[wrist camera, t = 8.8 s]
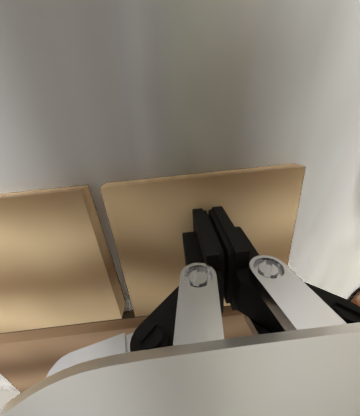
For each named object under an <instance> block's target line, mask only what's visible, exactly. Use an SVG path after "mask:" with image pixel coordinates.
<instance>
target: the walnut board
mask: <svg viewBox="0 0 360 416" xmlns="http://www.w3.org/2000/svg"><path fill="white" fill-rule="evenodd" d="M148 316H149V315H147V316H139V317H135V314H134V311H130V312H123V316H122V319H114V320H106V321H98V322H89V323H81V324H73V325H65V326H56V327H48V328H40V329H31V330H23V331H15V332H7V333H0V373H1V374H2V375H3V376H4V377H5V378H6V379H7V380H8V381H9V382H10V383H11V384H12V385H13V386H14V387H15V388H16V389H18V390H19V391H20V392H21V393H22V392H23V391H25V390H26V389H28V388H29V387H31V386H33V385H34V384H36V383H38V382H40V381H41V380H43V379H45V378H46V377H47V374H48V372H49V371H50V369H51V368H52V367H53V365H54V364H55V363H56V362H57V361H58V360H59V359H60V358H62V357H63V356H65V355H67V354H68V353H70V352H73V351H76V350H78V349H81V348H84V347H87V346H89V345H92V344H95V343H98V342H100V341H103V340H106V339H109V338H111V337H114V336H117V335H120V334H122V333H125V335H128V334H131V333H134V331H135V330H136V328H137V327H138V326H139V325H140V324H141V323H142V322H143V321H144V320H145V319H146V318H147V317H148ZM221 316H222V324H223V332H224V339H229V338H236V337H244V336H252V335H253V334H252V332H251V330H250V328H249V327H248V325H247V323H246V321H245V318H244V314H243V313H241V312H239V311H238V310H233V311H232V308H231V305H230V306H224V309H223V314H222V315H221Z"/></svg>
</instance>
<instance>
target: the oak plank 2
mask: <svg viewBox="0 0 360 416" xmlns="http://www.w3.org/2000/svg"><path fill="white" fill-rule="evenodd" d="M305 168H306V167H305V166H301V165H298V164H285V165H275V166H265V167H256V168H246V169H236V170H227V171H217V172H207V173H198V174H188V175H178V176H169V177H159V178H149V179H140V180H130V181H120V182H111V183H105V184H104V185H103V186H102V187H101V188H100V191H101V194H102V198H103V202H104V205H105V209H106V213H107V216H108V220H109V223H110V227H111V231H112V234H113V238H114V242H115V245H116V249H117V252H118V256H119V260H120V263H121V267H122V270H123V274H124V278H125V281H126V285H127V289H128V292H129V296H130V299H131V303H132V307H133V310H134V314H135V317H139V316H147V315H150V314H151V313H152V312H153V311H154V310H155V309H156V308H157V307H158V306H159V305H160V304H161V303H162V302H163V301H164V300H165V299H166V298H167V297H168V296H169V295H170V294H171V293H172V292H173V291H174V290H175V289H176V288H177V287H178V286H179V281H180V274H181V271H182V270H183V268H184V267H186V264H185V256H184V248H183V237H182V233H184V232H193V231H194V230H193V214H192V209H199V208H202V209H203V210H206V211H207V214H208V210H211V209H212V207H218V206H222V207H223V209H224V210H225V212H226V213H227V215H228V217H229V218H230V220H231V221H232V223H233V225H234V226H235V227H238V226H239V227H241V228H242V230H243V231H244V233H245V234H246V236H247V237H248V239H249V240H250V242H251V243H252V245H253V246H254V248H255V249H256V251H257V252H258V254H259V255H267V256H272V257H275V258H277V259H279V260H281V261H282V262H283V263H285V264H286V265H288V259H289V254H290V249H291V243H292V238H293V232H294V227H295V222H296V216H297V211H298V205H299V200H300V195H301V189H302V184H303V178H304V173H305ZM224 306H230V303H226V302H225V299H224Z"/></svg>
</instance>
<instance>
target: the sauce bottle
mask: <svg viewBox="0 0 360 416" xmlns="http://www.w3.org/2000/svg"><path fill="white" fill-rule="evenodd" d="M351 302H352V303H354V304H356V305H358V306H360V290H359V291H358V292H357V293H356V295H354V296H353V298H352V300H351Z"/></svg>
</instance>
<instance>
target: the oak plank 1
mask: <svg viewBox="0 0 360 416" xmlns="http://www.w3.org/2000/svg"><path fill="white" fill-rule="evenodd" d="M124 307H125V300H124V297H123V293H122V290H121V287H120V283H119V280H118V277H117V273H116V270H115V267H114V264H113V261H112V258H111V255H110V252H109V249H108V246H107V242H106V239H105V236H104V233H103V230H102V227H101V224H100V221H99V218H98V215H97V212H96V209H95V206H94V203H93V199H92V196H91V193H90V190H89V187H88V185H82V186H72V187H63V188H53V189H43V190H34V191H24V192H14V193H5V194H0V333H7V332H15V331H23V330H31V329H40V328H48V327H56V326H65V325H73V324H81V323H89V322H98V321H106V320H114V319H122V316H123V311H124Z"/></svg>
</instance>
